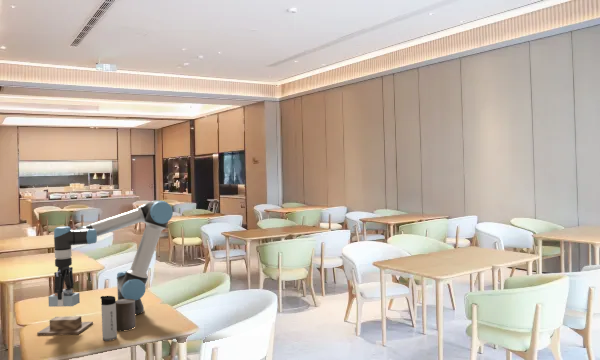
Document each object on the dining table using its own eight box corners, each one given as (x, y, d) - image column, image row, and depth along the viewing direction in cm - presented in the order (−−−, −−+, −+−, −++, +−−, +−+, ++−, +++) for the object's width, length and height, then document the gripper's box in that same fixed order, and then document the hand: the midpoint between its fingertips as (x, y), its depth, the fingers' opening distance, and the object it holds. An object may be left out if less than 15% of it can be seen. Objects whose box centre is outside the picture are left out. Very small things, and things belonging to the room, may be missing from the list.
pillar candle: (116, 332, 238) (115, 302, 237) (113, 327, 246) (113, 297, 246) (137, 329, 242) (136, 299, 242) (134, 324, 251) (133, 294, 250)
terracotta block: (65, 295, 246) (64, 288, 246) (61, 297, 242) (61, 290, 242) (58, 295, 246) (57, 289, 246) (54, 297, 242) (54, 290, 242)
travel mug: (104, 336, 232) (102, 294, 232) (118, 336, 233) (117, 294, 232) (100, 341, 226) (98, 298, 225) (114, 340, 226) (113, 297, 226)
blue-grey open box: (79, 302, 248) (79, 292, 247) (72, 306, 241) (72, 296, 240) (56, 302, 248) (56, 292, 248) (48, 306, 241) (48, 296, 241)
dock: (92, 323, 252) (92, 313, 252) (78, 334, 237) (77, 322, 236) (54, 324, 253) (54, 313, 253) (37, 335, 237) (36, 323, 237)
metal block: (72, 295, 246) (72, 288, 246) (69, 297, 243) (69, 290, 243) (65, 295, 246) (65, 288, 246) (62, 297, 243) (62, 290, 243)
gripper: (65, 254, 254) (67, 298, 254) (45, 261, 234) (46, 309, 234) (80, 254, 254) (81, 298, 254) (60, 261, 234) (62, 309, 234)
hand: (64, 303), depth 244 cm, fingers closed on blue-grey open box, 7 cm apart
